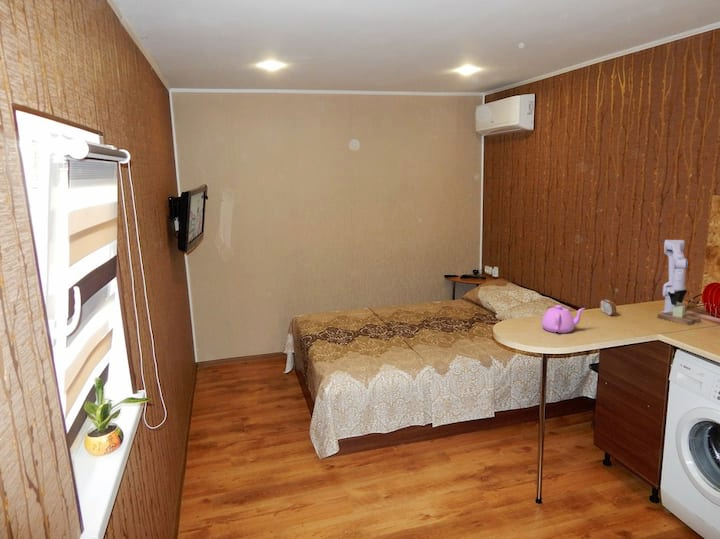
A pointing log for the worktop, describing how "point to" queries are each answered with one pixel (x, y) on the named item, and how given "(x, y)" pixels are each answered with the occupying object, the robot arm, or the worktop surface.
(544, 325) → the teapot
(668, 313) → the walnut slab
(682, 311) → the sage block
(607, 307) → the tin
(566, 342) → the worktop surface
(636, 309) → the worktop surface
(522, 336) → the worktop surface
